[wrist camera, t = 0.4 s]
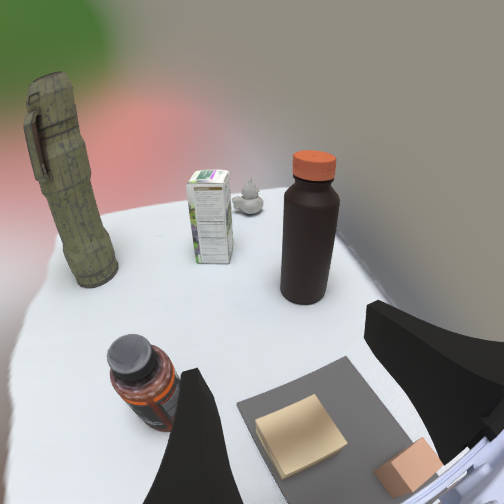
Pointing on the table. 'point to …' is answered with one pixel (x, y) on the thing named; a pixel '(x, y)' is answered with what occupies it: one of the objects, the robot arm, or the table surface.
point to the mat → (353, 430)
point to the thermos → (67, 179)
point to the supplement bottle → (144, 380)
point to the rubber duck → (249, 199)
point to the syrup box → (211, 215)
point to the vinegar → (309, 227)
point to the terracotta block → (408, 469)
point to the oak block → (299, 436)
